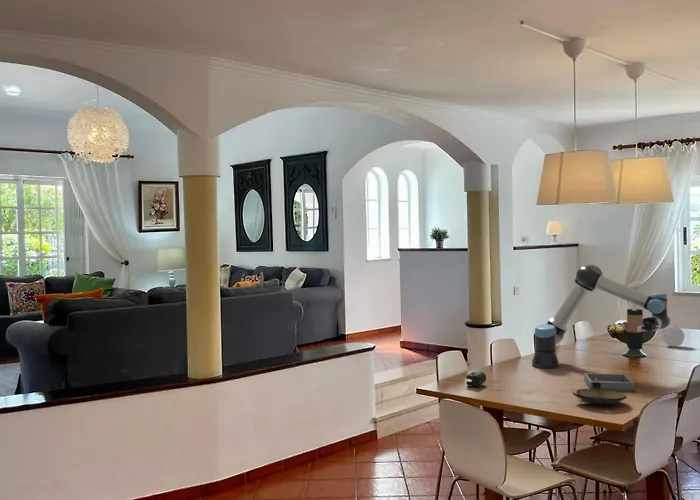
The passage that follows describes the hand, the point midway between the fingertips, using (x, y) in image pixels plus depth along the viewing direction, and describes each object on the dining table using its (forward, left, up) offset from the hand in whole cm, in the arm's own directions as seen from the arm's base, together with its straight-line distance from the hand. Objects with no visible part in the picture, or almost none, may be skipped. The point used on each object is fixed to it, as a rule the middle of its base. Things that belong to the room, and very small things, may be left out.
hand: (630, 327), depth 330 cm
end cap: (-78, -22, -28) cm, 86 cm away
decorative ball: (+50, +111, -28) cm, 125 cm away
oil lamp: (-22, -45, -28) cm, 58 cm away
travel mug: (+3, +4, -11) cm, 12 cm away
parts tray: (-13, -12, -28) cm, 33 cm away
